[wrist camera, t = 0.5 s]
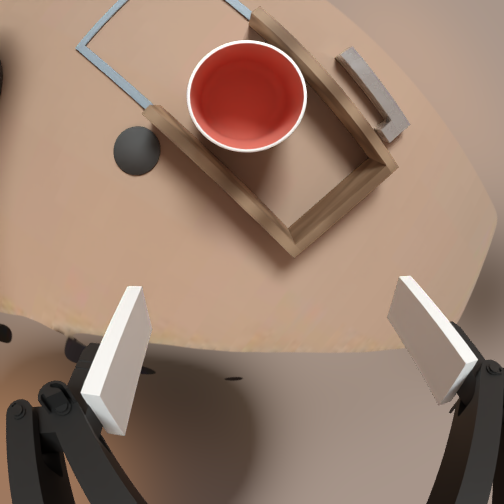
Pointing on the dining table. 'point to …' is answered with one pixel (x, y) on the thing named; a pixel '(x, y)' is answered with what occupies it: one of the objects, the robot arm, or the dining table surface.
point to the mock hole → (136, 150)
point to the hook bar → (375, 94)
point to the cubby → (341, 105)
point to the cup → (246, 96)
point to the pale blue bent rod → (112, 73)
